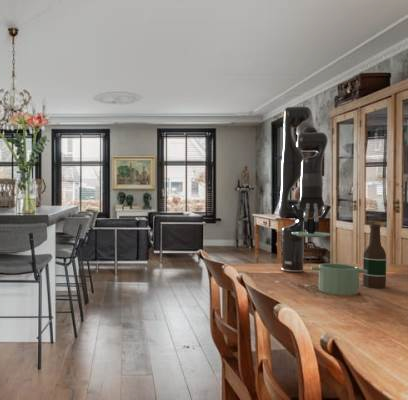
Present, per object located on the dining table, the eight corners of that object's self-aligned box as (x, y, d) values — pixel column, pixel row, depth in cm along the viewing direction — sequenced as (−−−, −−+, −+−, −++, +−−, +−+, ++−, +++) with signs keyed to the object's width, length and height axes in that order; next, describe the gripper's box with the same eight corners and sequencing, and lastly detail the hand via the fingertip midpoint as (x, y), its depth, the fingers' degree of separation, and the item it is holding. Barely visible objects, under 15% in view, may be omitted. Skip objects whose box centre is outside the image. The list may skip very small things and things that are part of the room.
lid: (290, 234, 173) (290, 217, 173) (328, 235, 169) (328, 218, 169) (292, 236, 161) (292, 219, 161) (333, 238, 156) (333, 219, 156)
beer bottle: (378, 289, 164) (379, 225, 164) (358, 285, 171) (359, 224, 171) (390, 287, 168) (391, 224, 168) (370, 283, 175) (371, 223, 175)
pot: (309, 287, 168) (309, 262, 168) (362, 290, 162) (363, 265, 162) (312, 294, 156) (313, 267, 156) (370, 298, 150) (370, 270, 150)
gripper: (330, 185, 166) (330, 231, 166) (291, 185, 170) (290, 230, 171) (333, 185, 159) (332, 232, 159) (291, 185, 163) (291, 231, 164)
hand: (310, 231), depth 165 cm, fingers closed on lid, 2 cm apart
